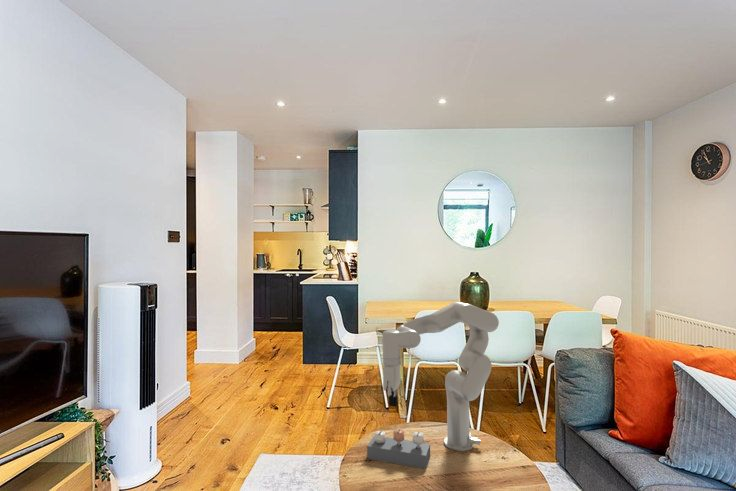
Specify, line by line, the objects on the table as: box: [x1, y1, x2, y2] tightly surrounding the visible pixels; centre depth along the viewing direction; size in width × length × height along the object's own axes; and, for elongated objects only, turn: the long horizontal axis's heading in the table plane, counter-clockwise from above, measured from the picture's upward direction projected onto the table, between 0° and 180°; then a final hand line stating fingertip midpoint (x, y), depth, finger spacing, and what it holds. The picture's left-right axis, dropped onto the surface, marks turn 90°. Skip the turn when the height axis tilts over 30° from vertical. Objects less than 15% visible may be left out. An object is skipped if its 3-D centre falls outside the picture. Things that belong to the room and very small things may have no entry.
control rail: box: [366, 434, 431, 470], centre depth 157 cm, size 24×10×5 cm, turn 71°
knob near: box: [412, 431, 425, 449], centre depth 154 cm, size 4×4×6 cm
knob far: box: [374, 430, 386, 443], centre depth 159 cm, size 4×4×6 cm
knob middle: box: [392, 428, 405, 446], centre depth 157 cm, size 4×4×6 cm
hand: (393, 405), depth 158 cm, fingers closed
